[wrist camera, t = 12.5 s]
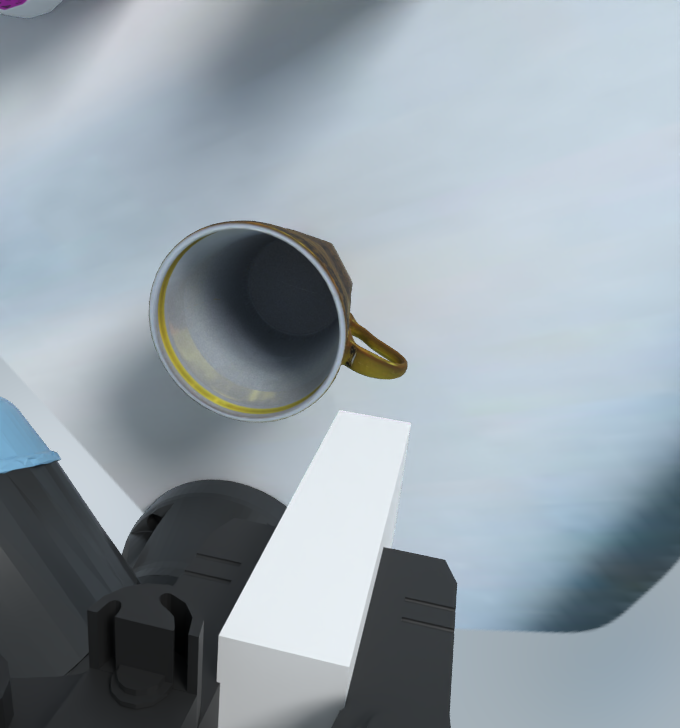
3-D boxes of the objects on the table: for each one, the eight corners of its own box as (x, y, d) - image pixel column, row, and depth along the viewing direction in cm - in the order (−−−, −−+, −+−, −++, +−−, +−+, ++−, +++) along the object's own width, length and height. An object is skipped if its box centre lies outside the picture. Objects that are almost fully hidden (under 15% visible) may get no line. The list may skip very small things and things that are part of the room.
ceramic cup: (208, 331, 43) (132, 383, 33) (243, 180, 39) (168, 192, 30) (395, 398, 41) (369, 472, 32) (448, 249, 38) (437, 284, 28)
